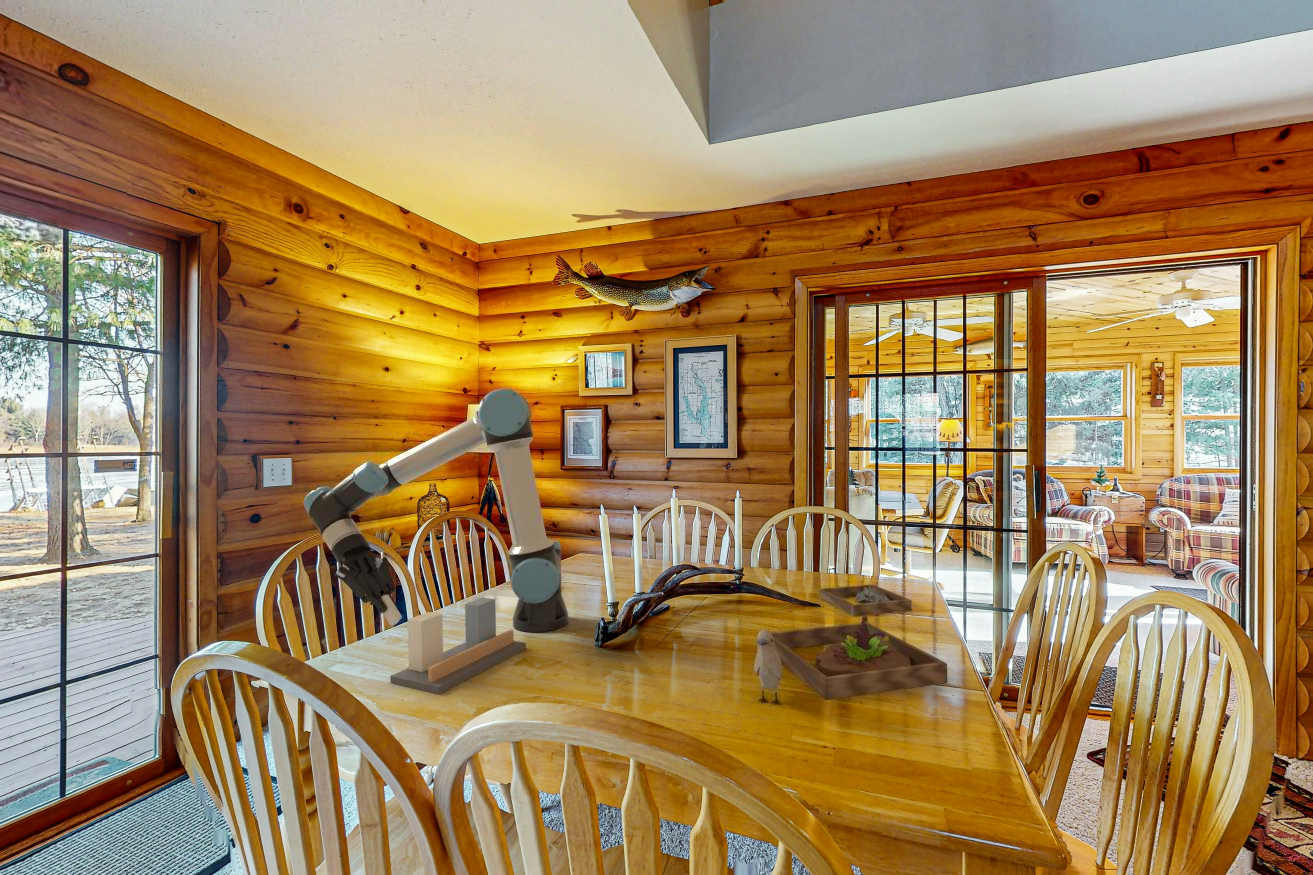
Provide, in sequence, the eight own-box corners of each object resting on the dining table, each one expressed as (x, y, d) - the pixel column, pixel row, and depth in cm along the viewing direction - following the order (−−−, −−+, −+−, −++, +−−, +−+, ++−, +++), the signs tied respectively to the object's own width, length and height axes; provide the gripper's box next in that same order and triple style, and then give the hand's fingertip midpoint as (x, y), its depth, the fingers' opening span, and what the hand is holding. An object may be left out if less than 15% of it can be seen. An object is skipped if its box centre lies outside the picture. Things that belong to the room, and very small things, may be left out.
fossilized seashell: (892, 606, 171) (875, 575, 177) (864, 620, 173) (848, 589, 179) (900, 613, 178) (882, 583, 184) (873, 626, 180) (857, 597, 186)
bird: (748, 715, 110) (747, 634, 110) (763, 686, 122) (762, 613, 122) (775, 720, 108) (774, 637, 108) (787, 689, 121) (786, 616, 120)
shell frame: (872, 593, 191) (872, 584, 191) (911, 610, 172) (911, 600, 172) (818, 598, 186) (818, 588, 186) (853, 616, 168) (853, 605, 167)
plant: (920, 662, 135) (919, 613, 135) (904, 695, 118) (903, 639, 118) (831, 646, 145) (831, 601, 145) (806, 674, 129) (805, 623, 129)
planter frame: (867, 637, 150) (867, 622, 150) (947, 682, 123) (947, 663, 123) (764, 649, 143) (764, 632, 143) (825, 699, 116) (825, 679, 116)
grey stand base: (390, 682, 127) (390, 661, 127) (482, 640, 152) (481, 623, 152) (439, 694, 121) (438, 672, 121) (526, 648, 146) (525, 630, 146)
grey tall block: (465, 649, 141) (465, 603, 141) (483, 641, 147) (482, 597, 147) (478, 652, 140) (478, 605, 140) (496, 643, 145) (495, 599, 145)
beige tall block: (408, 669, 130) (407, 619, 130) (430, 659, 136) (429, 611, 135) (422, 672, 128) (421, 621, 128) (443, 662, 134) (442, 613, 134)
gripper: (363, 547, 150) (411, 623, 142) (313, 557, 138) (363, 640, 131) (377, 528, 147) (427, 603, 140) (328, 536, 135) (379, 619, 128)
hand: (396, 621), depth 135 cm, fingers closed
